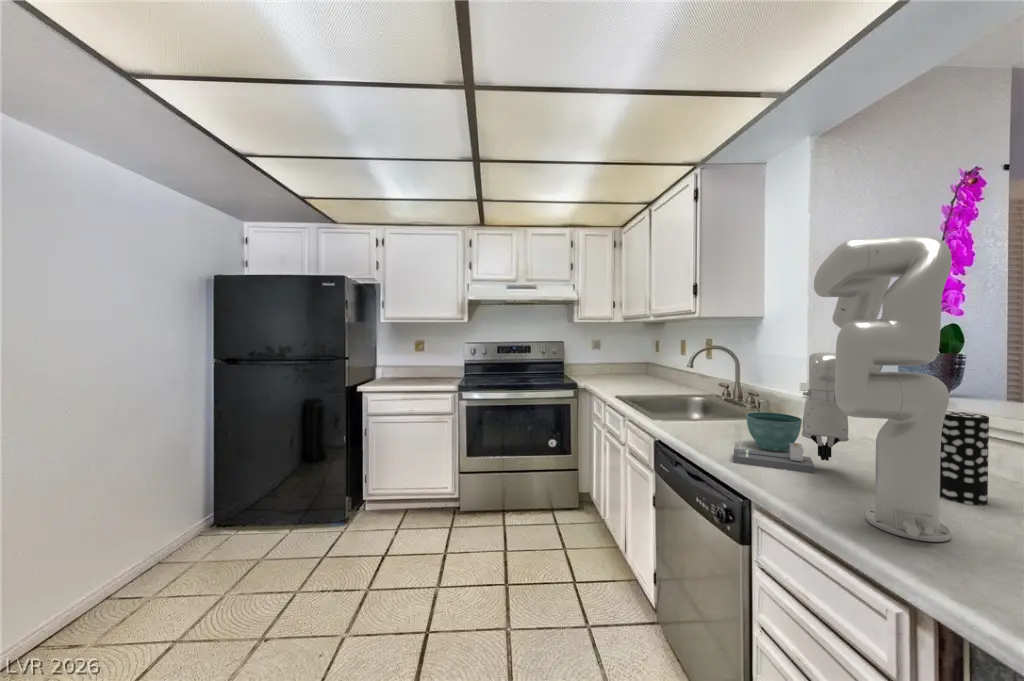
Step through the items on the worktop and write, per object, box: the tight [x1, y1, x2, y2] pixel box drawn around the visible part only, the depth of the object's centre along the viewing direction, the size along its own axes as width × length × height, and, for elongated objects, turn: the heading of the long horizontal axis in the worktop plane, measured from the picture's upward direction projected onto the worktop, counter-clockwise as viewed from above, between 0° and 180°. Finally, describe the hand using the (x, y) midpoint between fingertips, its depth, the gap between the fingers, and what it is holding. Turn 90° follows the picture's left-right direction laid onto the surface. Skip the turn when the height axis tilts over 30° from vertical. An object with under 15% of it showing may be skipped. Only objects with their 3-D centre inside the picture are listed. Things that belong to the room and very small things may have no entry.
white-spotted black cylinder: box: [940, 410, 990, 506], centre depth 99 cm, size 8×8×20 cm
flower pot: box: [745, 411, 803, 453], centre depth 141 cm, size 16×16×11 cm
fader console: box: [733, 442, 815, 474], centre depth 126 cm, size 10×20×4 cm, turn 60°
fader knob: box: [788, 442, 804, 462], centre depth 123 cm, size 5×3×4 cm, turn 150°
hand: (824, 459), depth 119 cm, fingers closed
